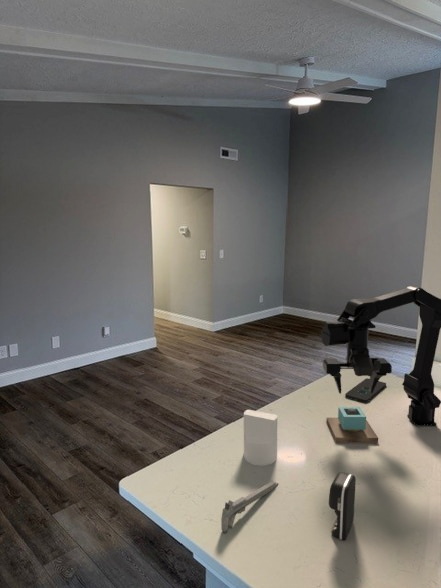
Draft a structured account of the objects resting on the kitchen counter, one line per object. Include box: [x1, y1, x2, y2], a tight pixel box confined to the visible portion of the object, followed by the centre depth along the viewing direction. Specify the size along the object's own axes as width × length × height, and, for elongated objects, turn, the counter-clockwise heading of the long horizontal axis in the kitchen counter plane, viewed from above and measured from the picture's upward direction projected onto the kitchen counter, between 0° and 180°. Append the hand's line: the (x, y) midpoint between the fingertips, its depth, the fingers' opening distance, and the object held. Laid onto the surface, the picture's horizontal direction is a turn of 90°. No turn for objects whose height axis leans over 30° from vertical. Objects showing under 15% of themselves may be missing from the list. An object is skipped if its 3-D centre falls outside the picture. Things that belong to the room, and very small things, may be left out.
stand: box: [325, 408, 379, 444], centre depth 120 cm, size 12×12×7 cm
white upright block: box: [243, 409, 278, 466], centre depth 108 cm, size 9×9×12 cm
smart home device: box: [344, 377, 387, 404], centre depth 150 cm, size 8×2×20 cm
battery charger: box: [328, 471, 356, 541], centre depth 82 cm, size 7×4×11 cm, turn 147°
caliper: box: [220, 480, 279, 534], centre depth 90 cm, size 20×1×6 cm, turn 140°
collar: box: [337, 406, 367, 430], centre depth 120 cm, size 6×6×4 cm
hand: (355, 393), depth 120 cm, fingers open, 9 cm apart
